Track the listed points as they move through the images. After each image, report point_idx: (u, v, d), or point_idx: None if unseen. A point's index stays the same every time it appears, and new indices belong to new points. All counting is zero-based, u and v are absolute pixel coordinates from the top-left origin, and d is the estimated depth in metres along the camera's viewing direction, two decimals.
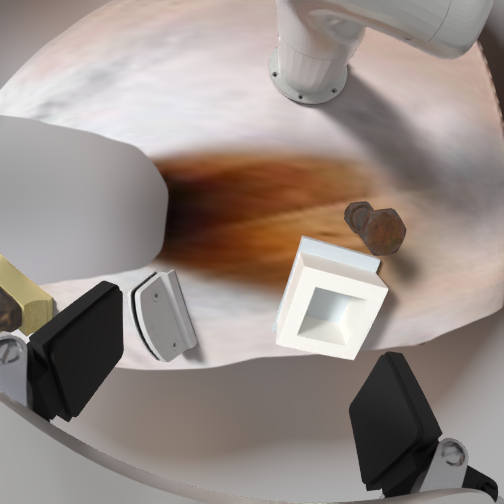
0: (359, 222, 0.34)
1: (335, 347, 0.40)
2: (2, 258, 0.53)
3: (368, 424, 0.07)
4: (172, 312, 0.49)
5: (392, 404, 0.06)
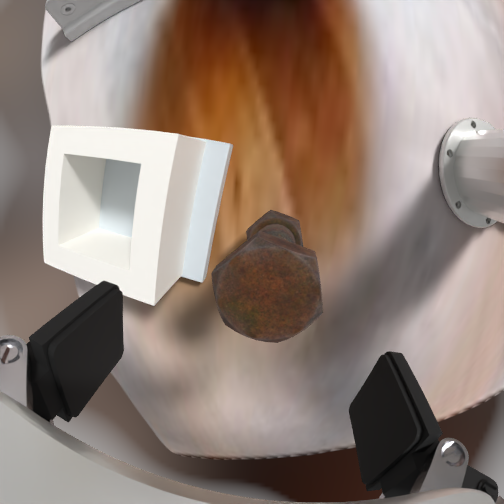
0: (273, 235, 0.18)
1: (53, 227, 0.21)
2: None
3: (368, 424, 0.07)
4: None
5: (392, 404, 0.06)
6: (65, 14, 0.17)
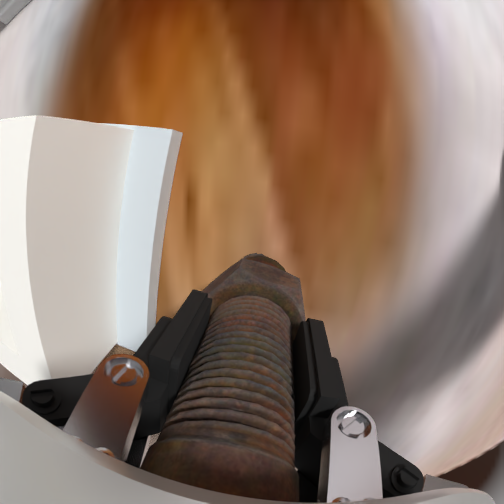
0: (235, 356, 0.07)
1: None
2: None
3: None
4: None
5: (300, 366, 0.08)
6: None
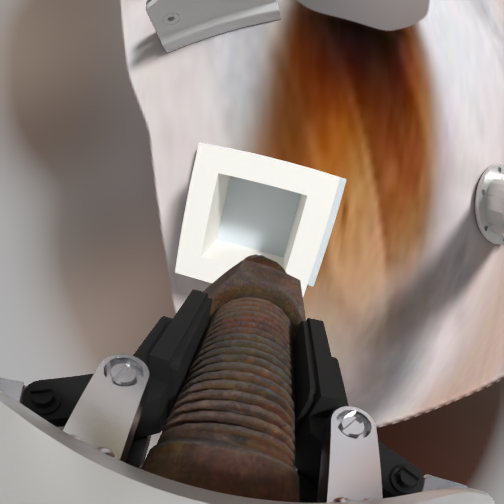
0: (236, 359, 0.07)
1: (196, 240, 0.27)
2: None
3: None
4: (220, 14, 0.25)
5: (300, 366, 0.08)
6: (166, 23, 0.24)
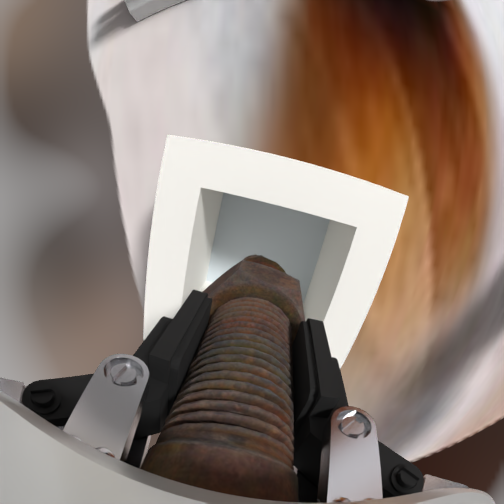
0: (235, 359, 0.07)
1: (171, 297, 0.16)
2: None
3: None
4: None
5: (300, 366, 0.08)
6: None
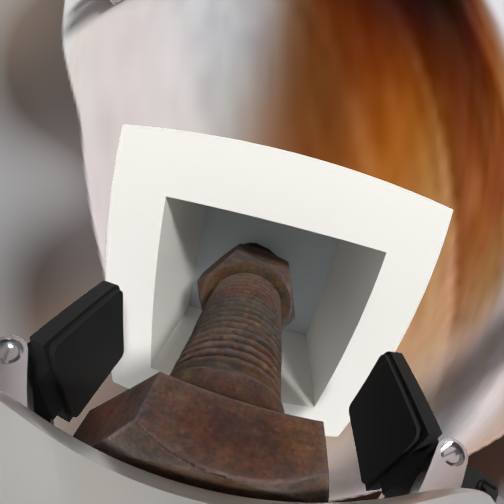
0: (233, 314, 0.08)
1: (137, 339, 0.12)
2: None
3: (368, 424, 0.07)
4: None
5: (391, 404, 0.06)
6: None
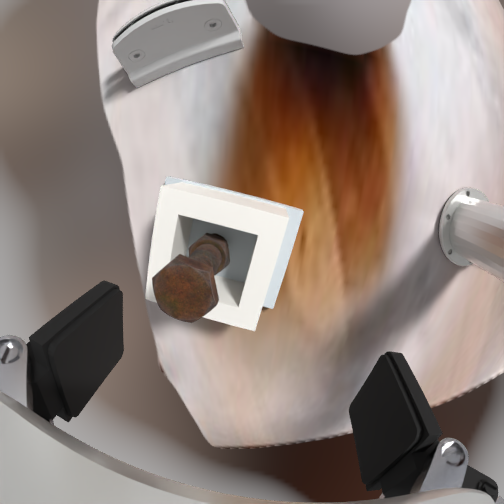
0: (199, 253, 0.27)
1: None
2: None
3: (368, 424, 0.07)
4: (184, 47, 0.27)
5: (392, 404, 0.06)
6: (133, 60, 0.27)
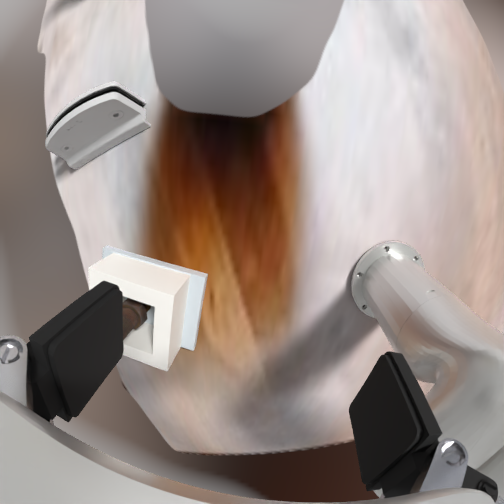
0: None
1: None
2: None
3: (368, 424, 0.07)
4: (101, 135, 0.34)
5: (392, 404, 0.06)
6: (65, 151, 0.34)
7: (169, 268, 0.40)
